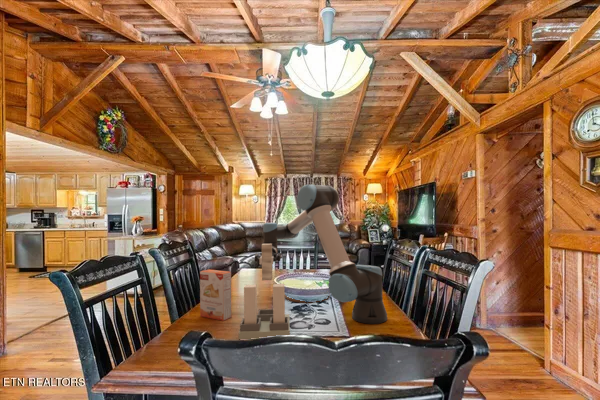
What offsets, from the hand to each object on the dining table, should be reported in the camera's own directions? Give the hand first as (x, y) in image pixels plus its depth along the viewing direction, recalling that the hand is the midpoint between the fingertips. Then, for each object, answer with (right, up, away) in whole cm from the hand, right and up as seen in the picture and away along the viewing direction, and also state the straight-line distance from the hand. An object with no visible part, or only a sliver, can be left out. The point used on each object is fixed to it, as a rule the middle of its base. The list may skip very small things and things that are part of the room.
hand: (266, 261), depth 139 cm
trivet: (+19, -27, +37) cm, 50 cm away
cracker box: (-24, -27, +5) cm, 36 cm away
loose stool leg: (0, -9, +5) cm, 10 cm away
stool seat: (+1, -25, -12) cm, 28 cm away
